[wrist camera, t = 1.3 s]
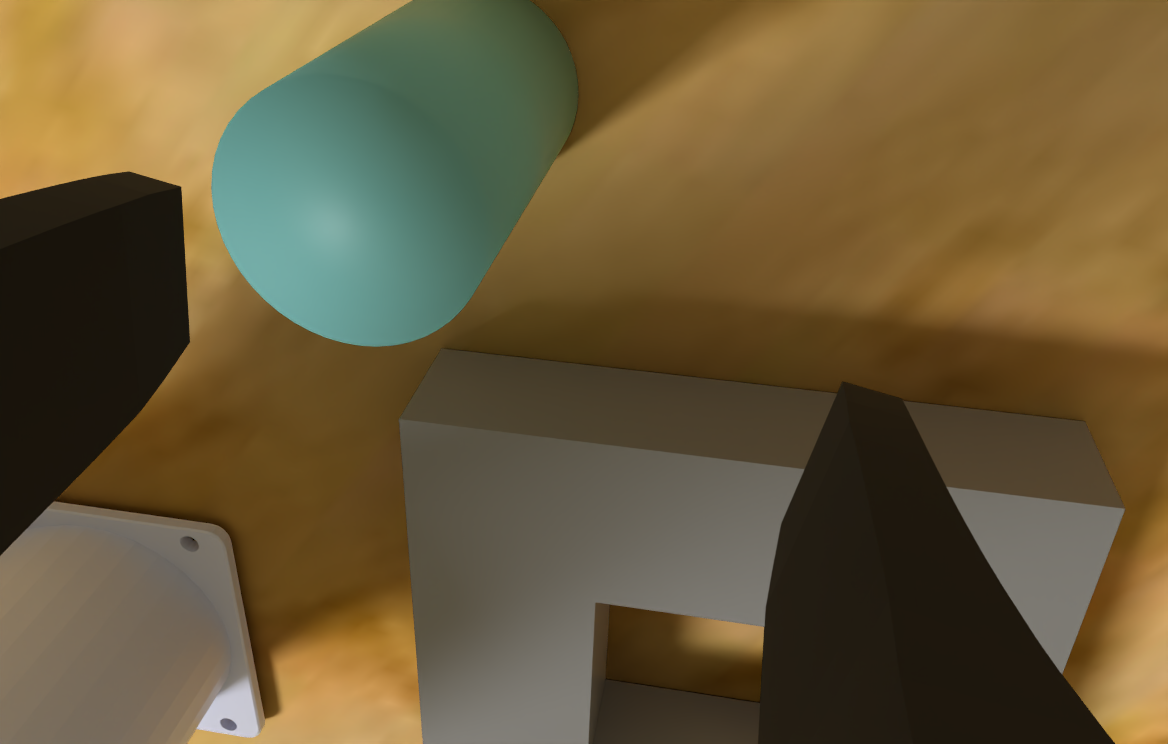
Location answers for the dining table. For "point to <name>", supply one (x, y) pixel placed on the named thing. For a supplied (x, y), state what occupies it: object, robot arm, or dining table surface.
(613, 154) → the dining table surface
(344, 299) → the peg
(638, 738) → the socket
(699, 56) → the dining table surface
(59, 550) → the robot arm
